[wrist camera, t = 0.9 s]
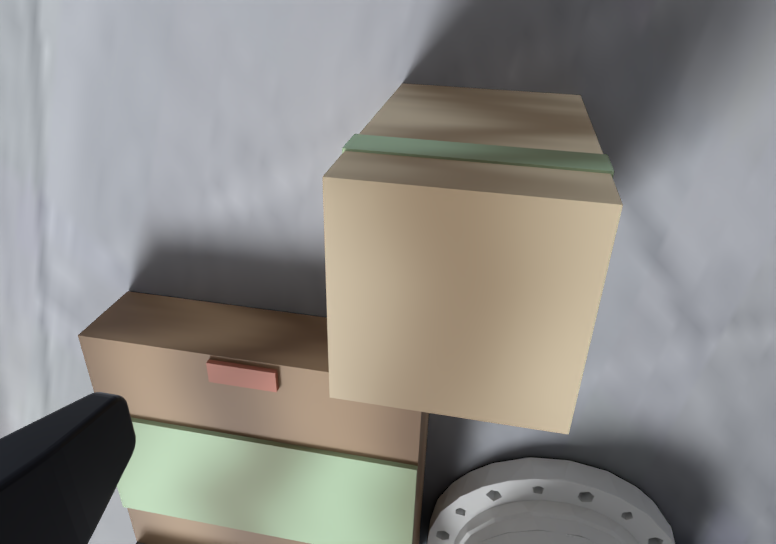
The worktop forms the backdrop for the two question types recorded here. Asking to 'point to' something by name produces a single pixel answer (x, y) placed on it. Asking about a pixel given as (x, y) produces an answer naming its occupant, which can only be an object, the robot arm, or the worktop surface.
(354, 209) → the tan green-striped carton
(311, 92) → the worktop surface
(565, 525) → the mechanical component
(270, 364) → the open box
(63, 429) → the robot arm
